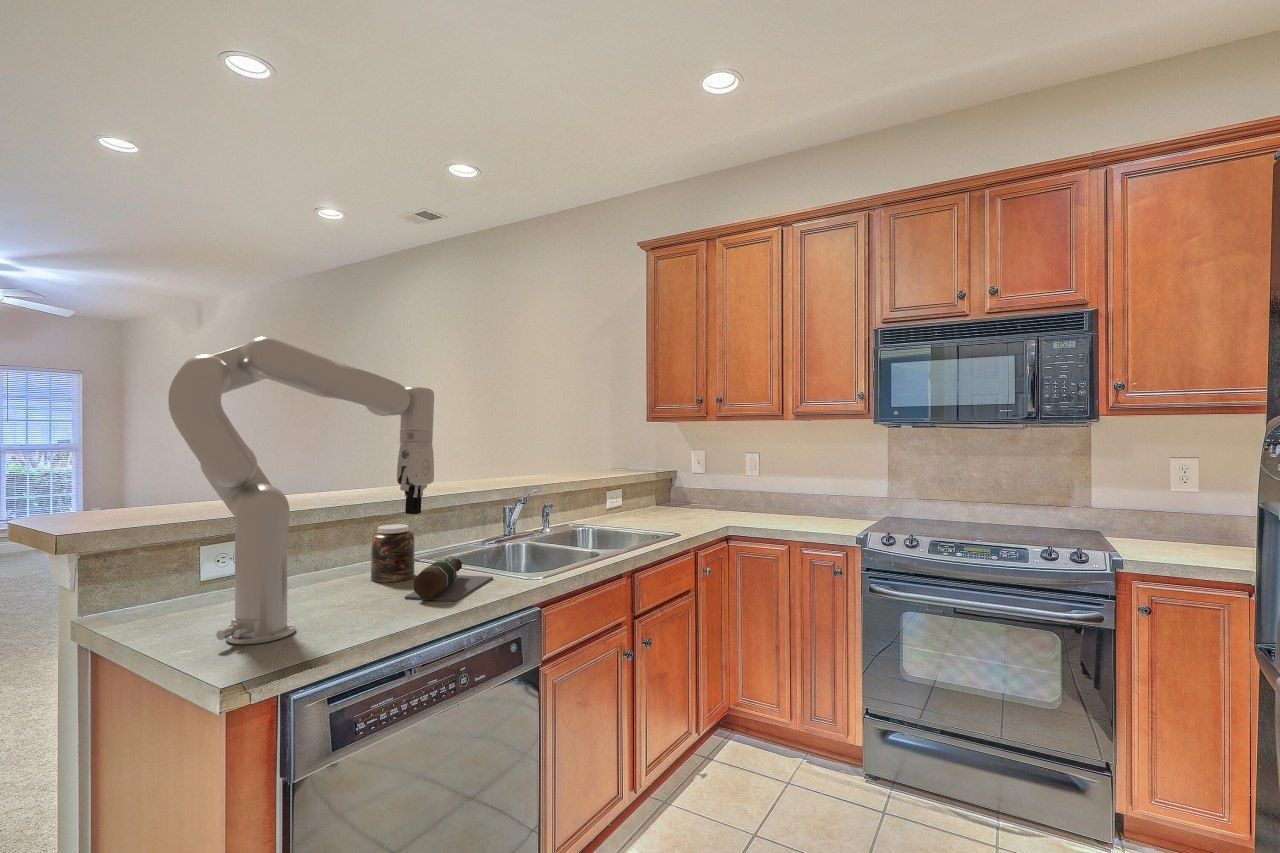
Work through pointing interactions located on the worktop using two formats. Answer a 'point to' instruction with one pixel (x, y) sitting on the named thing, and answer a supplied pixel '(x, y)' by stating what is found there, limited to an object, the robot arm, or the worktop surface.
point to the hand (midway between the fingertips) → (413, 513)
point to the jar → (392, 554)
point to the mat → (457, 588)
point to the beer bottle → (436, 578)
